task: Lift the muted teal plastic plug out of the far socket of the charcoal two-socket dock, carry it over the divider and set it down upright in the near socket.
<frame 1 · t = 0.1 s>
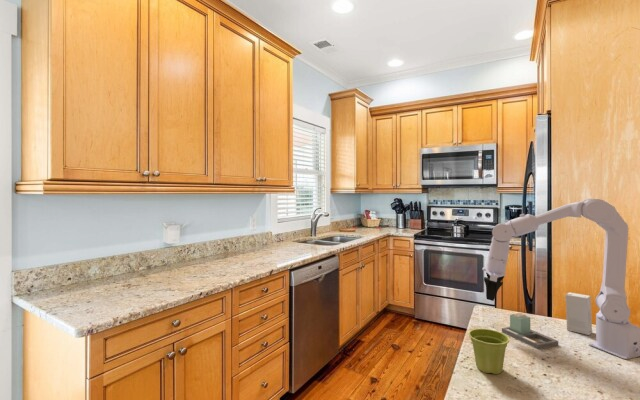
hand: (490, 296, 112), 11 cm above the countertop, tool pointing down, fingers open, 7 cm apart
dock: (528, 338, 103), on the countertop
skincare box: (578, 331, 107), on the countertop
plug: (520, 334, 106), resting in dock
plant pot: (488, 369, 85), on the countertop
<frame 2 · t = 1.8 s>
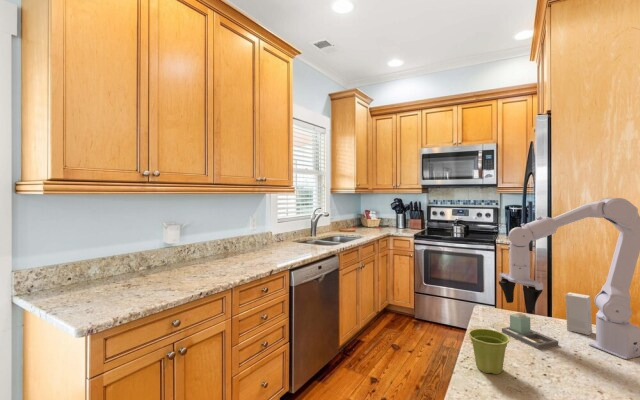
hand: (519, 306, 106), 9 cm above the countertop, tool pointing down, fingers open, 7 cm apart
nothing on the countertop moved.
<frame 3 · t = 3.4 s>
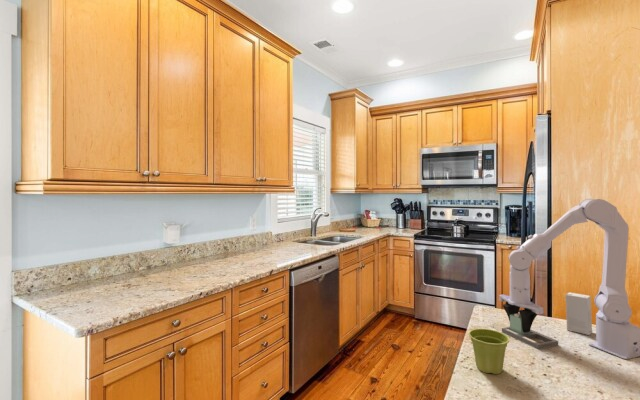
hand: (520, 329, 106), 2 cm above the countertop, tool pointing down, fingers closed on plug, 4 cm apart
plug: (520, 334, 106), resting in dock, touching gripper
everything else where it was.
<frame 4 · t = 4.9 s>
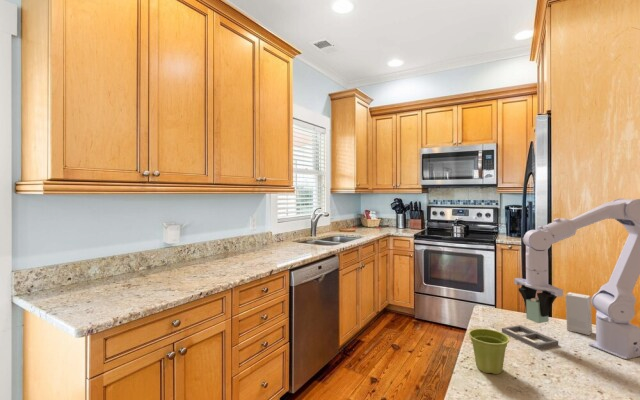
hand: (537, 313, 100), 9 cm above the countertop, tool pointing down, fingers closed on plug, 4 cm apart
plug: (537, 320, 100), point 7 cm above the countertop, touching gripper
everything else where it was.
when the fingers open (3 cm above the countertop, at t = 6.7 s): plug drops 1 cm, resting in dock.
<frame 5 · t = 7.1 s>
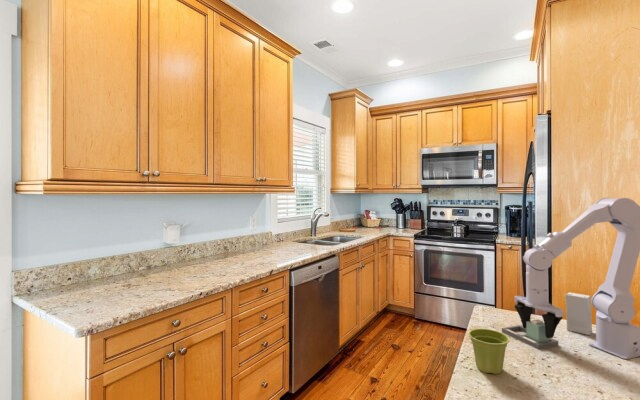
hand: (537, 332, 100), 3 cm above the countertop, tool pointing down, fingers open, 7 cm apart
plug: (537, 342, 100), resting in dock
everything else where it was.
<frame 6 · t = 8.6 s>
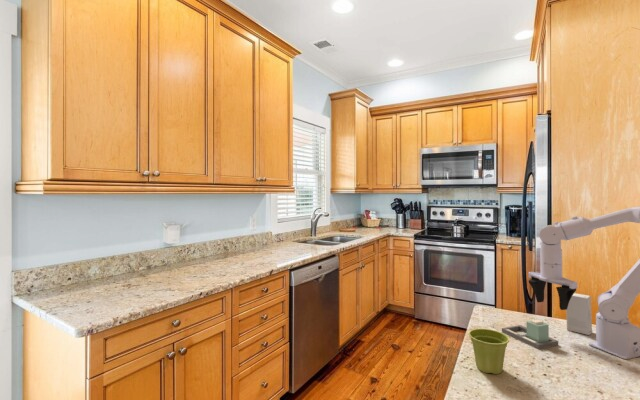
hand: (551, 305, 104), 10 cm above the countertop, tool pointing down, fingers open, 7 cm apart
nothing on the countertop moved.
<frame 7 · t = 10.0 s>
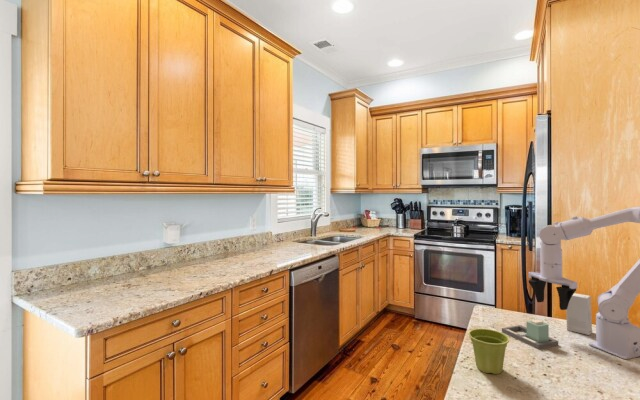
hand: (551, 305, 104), 10 cm above the countertop, tool pointing down, fingers open, 7 cm apart
nothing on the countertop moved.
at the end: plug 0.1 cm from the target spot, resting in dock; plug tilted 0°; the gripper is holding nothing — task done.
